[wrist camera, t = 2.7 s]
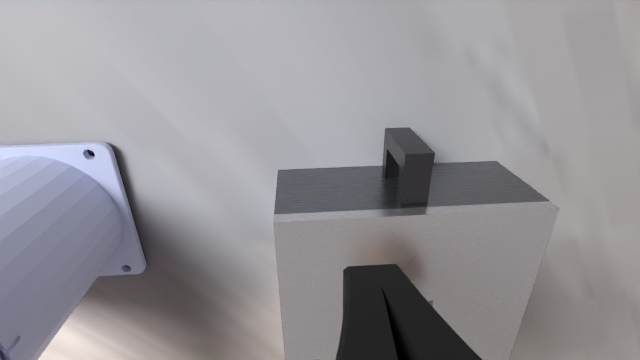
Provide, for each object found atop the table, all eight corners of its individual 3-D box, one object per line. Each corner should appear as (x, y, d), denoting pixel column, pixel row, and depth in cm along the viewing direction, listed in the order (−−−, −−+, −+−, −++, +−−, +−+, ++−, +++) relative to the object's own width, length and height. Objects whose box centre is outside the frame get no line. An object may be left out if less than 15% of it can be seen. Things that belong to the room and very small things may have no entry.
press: (289, 329, 24) (289, 405, 19) (275, 126, 18) (268, 167, 13) (460, 318, 25) (499, 389, 20) (505, 118, 18) (577, 155, 14)
